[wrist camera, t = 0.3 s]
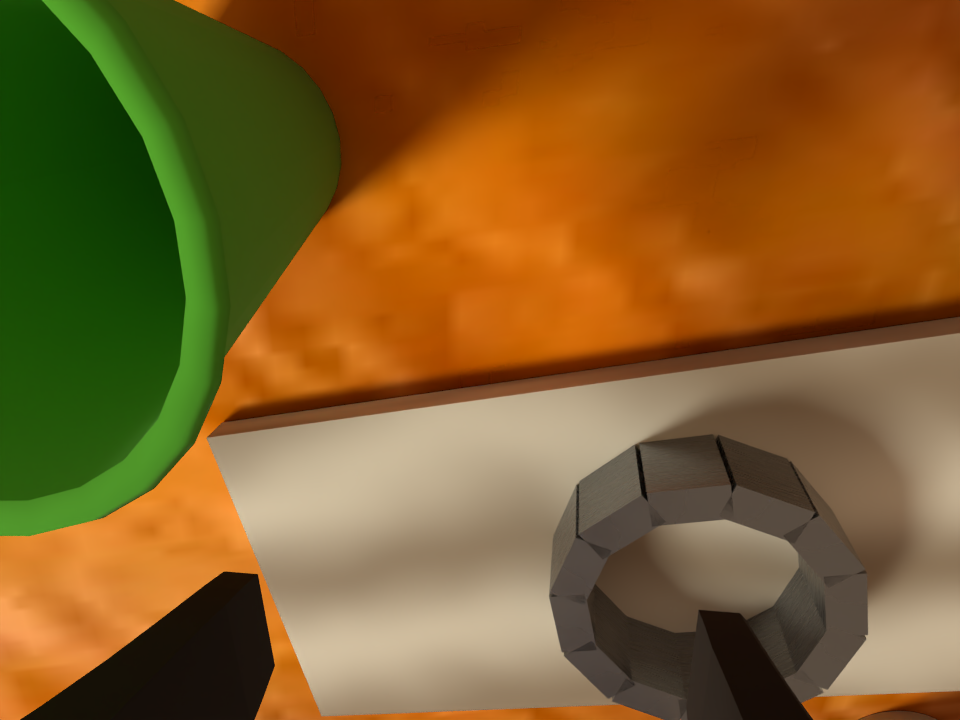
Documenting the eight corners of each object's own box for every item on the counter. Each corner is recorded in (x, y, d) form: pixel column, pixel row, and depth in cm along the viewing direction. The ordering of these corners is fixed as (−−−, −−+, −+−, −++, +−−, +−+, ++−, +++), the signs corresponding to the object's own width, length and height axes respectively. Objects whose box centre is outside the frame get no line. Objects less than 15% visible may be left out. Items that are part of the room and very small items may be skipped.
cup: (435, 295, 19) (288, 545, 9) (145, 309, 21) (-252, 539, 11) (391, -71, 16) (82, -293, 6) (45, -25, 17) (-678, -143, 7)
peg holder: (964, 664, 22) (1029, 766, 19) (330, 693, 26) (296, 779, 23) (982, 313, 17) (1071, 368, 14) (222, 422, 22) (161, 482, 19)
